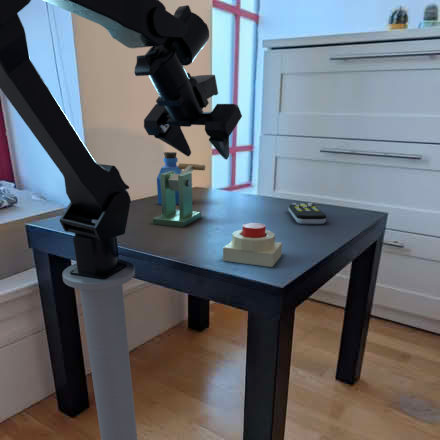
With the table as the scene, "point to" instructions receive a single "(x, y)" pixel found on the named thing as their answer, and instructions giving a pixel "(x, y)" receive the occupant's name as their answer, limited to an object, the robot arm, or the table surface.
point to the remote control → (307, 214)
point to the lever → (187, 168)
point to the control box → (253, 249)
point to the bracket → (169, 206)
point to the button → (253, 230)
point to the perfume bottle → (169, 166)
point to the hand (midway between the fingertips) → (207, 156)
